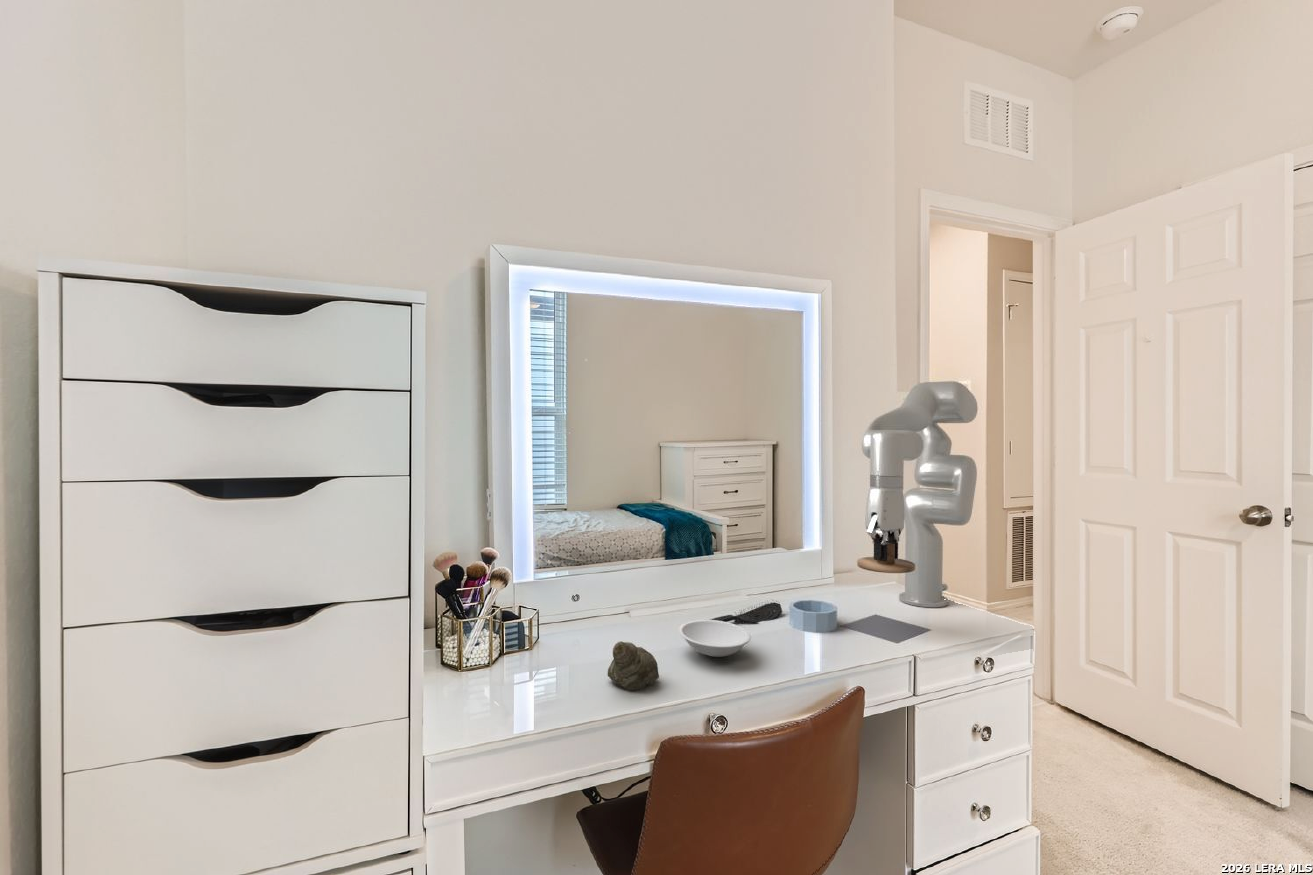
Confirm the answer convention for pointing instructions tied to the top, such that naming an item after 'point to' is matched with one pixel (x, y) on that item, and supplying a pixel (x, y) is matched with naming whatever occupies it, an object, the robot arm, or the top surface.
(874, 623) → the mat
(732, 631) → the dish
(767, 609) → the hairbrush
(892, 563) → the lid
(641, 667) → the seashell
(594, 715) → the top surface
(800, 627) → the bowl
